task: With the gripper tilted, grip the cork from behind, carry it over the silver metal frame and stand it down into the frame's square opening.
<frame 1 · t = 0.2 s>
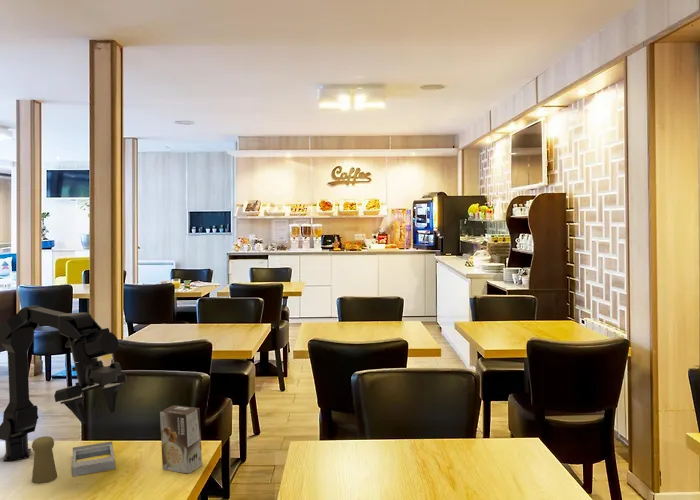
hand: (98, 418, 159), 16 cm above the table, tool pointing down, fingers open, 9 cm apart
silver metal frame: (93, 462, 169), on the table
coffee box: (182, 468, 164), on the table
cork: (44, 479, 158), on the table
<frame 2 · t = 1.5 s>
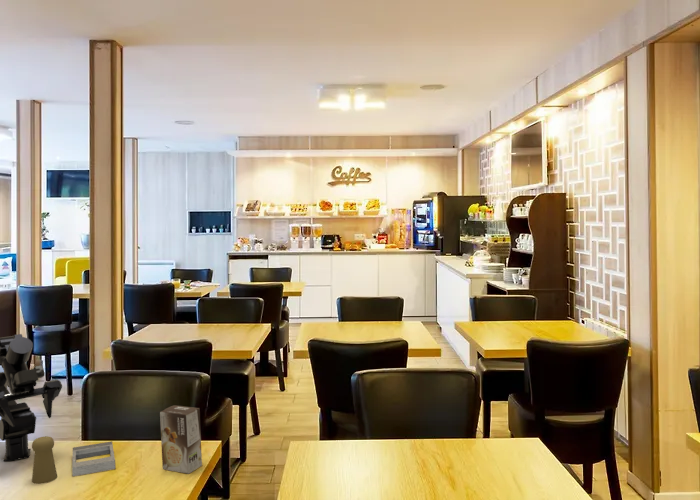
hand: (32, 421, 163), 13 cm above the table, tool tilted 45°, fingers open, 9 cm apart
nothing on the table moved.
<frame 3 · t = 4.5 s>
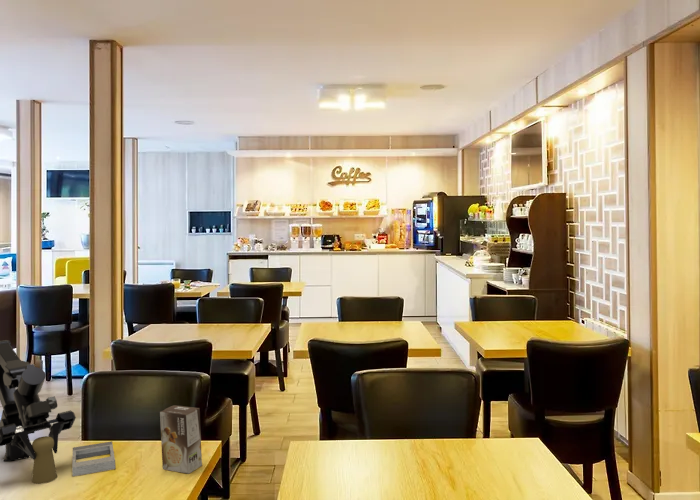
hand: (45, 455, 157), 7 cm above the table, tool tilted 45°, fingers closed on cork, 5 cm apart
cork: (44, 479, 158), on the table, touching gripper
everything else where it was.
when the fingers open (8 cm above the table, at t = 8.7 s): cork stays where it is, resting in silver metal frame.
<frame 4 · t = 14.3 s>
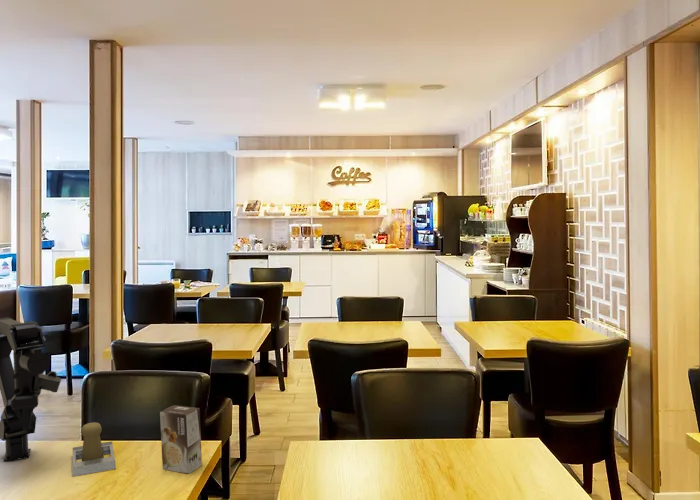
hand: (28, 423, 166), 12 cm above the table, tool pointing down, fingers open, 9 cm apart
cork: (92, 462, 169), resting in silver metal frame
everything else where it was.
at the end: cork 0.2 cm off-centre on the silver metal frame, point 0.0 cm above the silver metal frame's base; cork tilted 0°; the gripper is holding nothing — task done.
